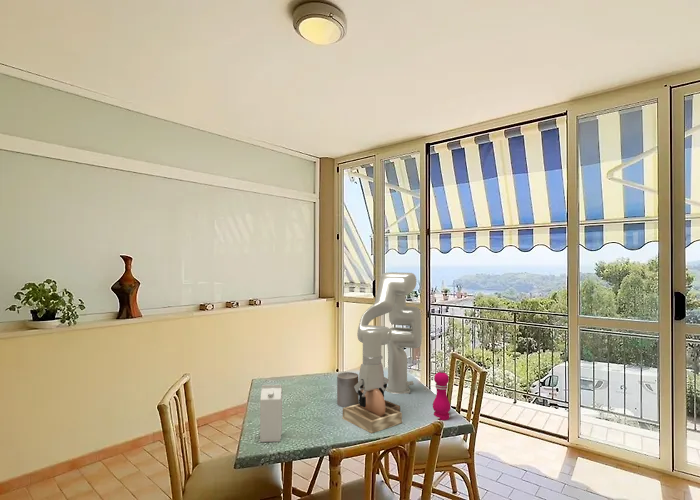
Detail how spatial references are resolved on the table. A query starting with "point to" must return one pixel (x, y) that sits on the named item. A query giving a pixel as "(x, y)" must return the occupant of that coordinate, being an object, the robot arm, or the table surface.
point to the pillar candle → (347, 389)
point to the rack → (371, 418)
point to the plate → (375, 402)
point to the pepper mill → (441, 396)
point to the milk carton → (271, 413)
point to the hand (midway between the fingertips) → (371, 403)
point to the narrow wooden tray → (392, 405)
